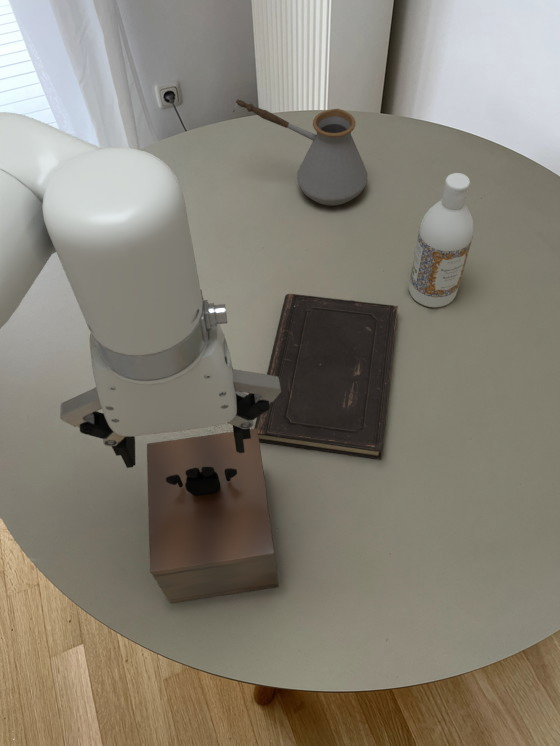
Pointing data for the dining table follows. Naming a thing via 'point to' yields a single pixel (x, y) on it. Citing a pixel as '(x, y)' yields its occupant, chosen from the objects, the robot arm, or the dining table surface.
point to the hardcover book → (331, 376)
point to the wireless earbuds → (201, 480)
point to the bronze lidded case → (209, 520)
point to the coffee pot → (326, 156)
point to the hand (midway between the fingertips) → (185, 445)
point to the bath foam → (442, 246)
